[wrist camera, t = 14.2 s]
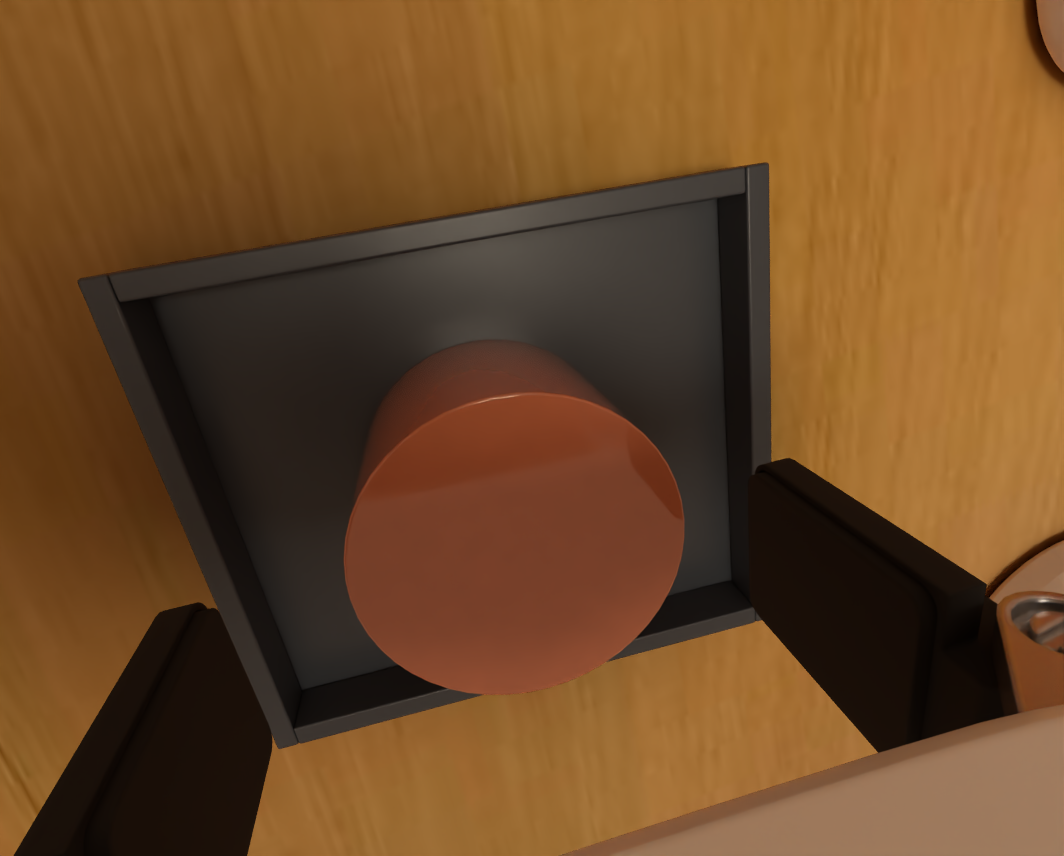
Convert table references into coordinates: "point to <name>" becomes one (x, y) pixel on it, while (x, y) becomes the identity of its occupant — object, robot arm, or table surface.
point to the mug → (1036, 574)
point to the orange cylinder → (507, 522)
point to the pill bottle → (1052, 28)
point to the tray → (401, 343)
